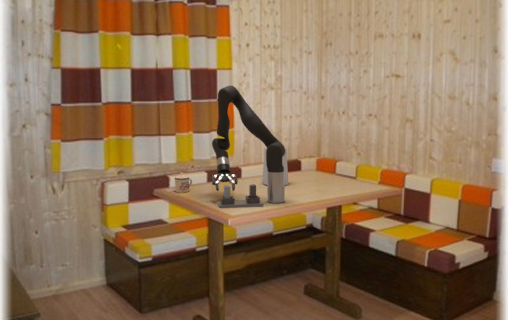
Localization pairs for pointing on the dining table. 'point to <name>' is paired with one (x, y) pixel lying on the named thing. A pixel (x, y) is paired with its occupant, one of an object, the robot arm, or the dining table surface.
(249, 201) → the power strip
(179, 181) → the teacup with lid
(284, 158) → the plastic bottle
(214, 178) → the robot arm
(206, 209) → the dining table surface
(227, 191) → the plug
